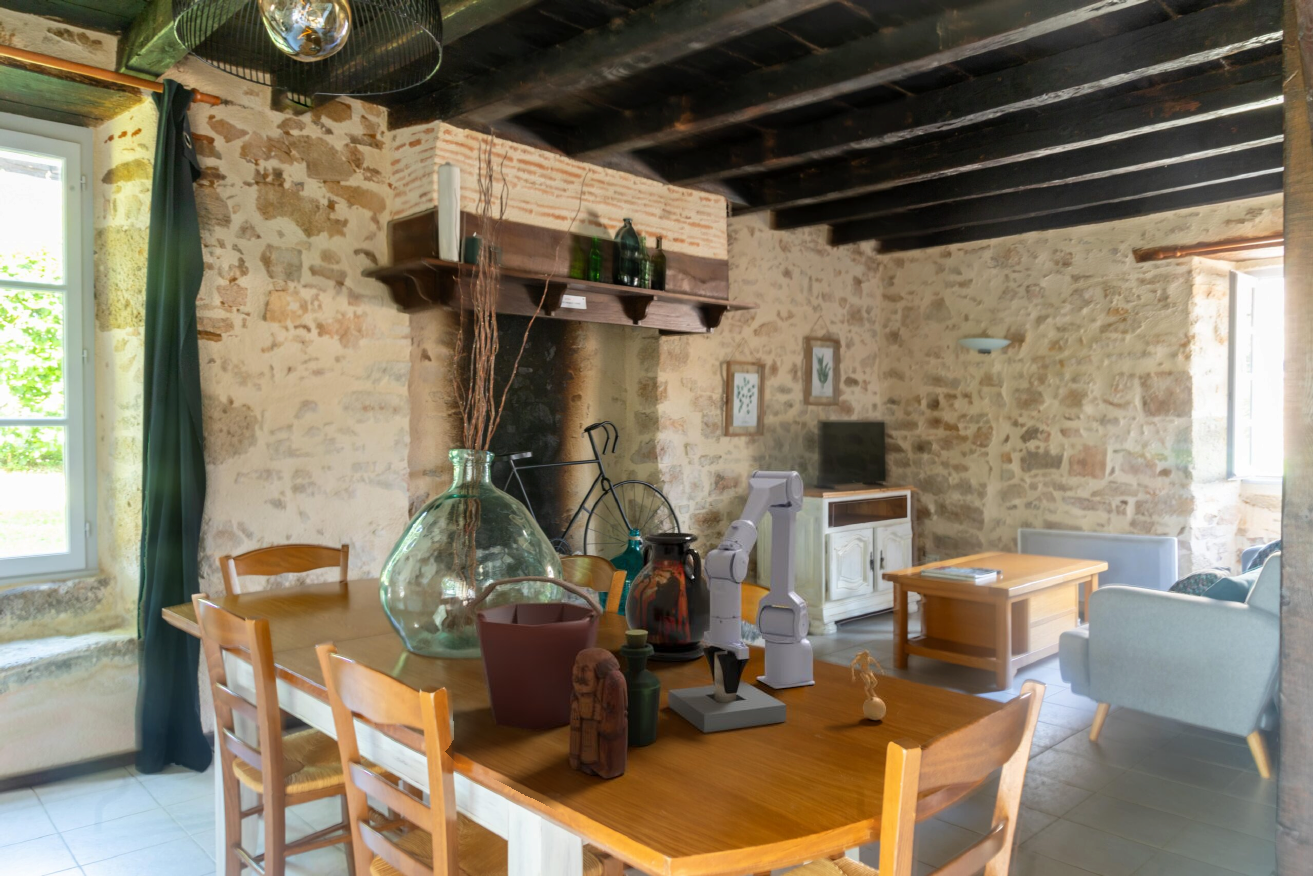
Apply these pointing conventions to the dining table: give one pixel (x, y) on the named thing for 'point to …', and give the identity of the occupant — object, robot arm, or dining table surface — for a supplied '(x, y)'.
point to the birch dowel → (721, 683)
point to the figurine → (872, 705)
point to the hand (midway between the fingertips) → (725, 689)
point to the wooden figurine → (598, 715)
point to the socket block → (726, 708)
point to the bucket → (533, 654)
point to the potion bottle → (640, 690)
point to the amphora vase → (670, 598)
